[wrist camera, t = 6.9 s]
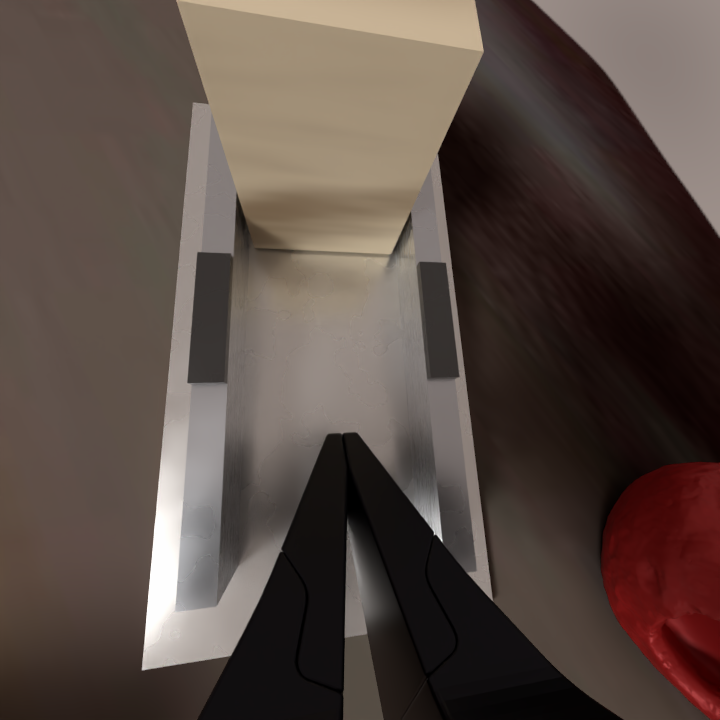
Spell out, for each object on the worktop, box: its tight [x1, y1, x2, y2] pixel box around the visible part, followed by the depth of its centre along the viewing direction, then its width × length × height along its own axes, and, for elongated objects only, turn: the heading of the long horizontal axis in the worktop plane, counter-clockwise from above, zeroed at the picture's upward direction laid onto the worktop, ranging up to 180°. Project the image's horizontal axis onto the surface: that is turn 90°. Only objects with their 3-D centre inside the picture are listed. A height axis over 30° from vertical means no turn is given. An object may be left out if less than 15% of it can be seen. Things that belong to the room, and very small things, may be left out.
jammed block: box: [176, 0, 484, 254], centre depth 12 cm, size 6×7×9 cm
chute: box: [142, 103, 493, 670], centre depth 14 cm, size 26×14×4 cm, turn 3°
